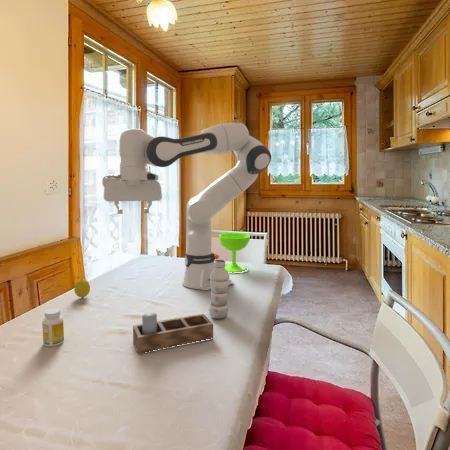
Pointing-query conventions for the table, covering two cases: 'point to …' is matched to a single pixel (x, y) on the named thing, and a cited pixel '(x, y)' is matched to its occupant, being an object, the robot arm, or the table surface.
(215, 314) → the plastic bottle
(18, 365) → the table surface
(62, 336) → the supplement bottle
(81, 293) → the lemon
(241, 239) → the wineglass
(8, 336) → the table surface
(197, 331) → the walnut rack
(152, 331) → the slate peg
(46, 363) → the table surface
